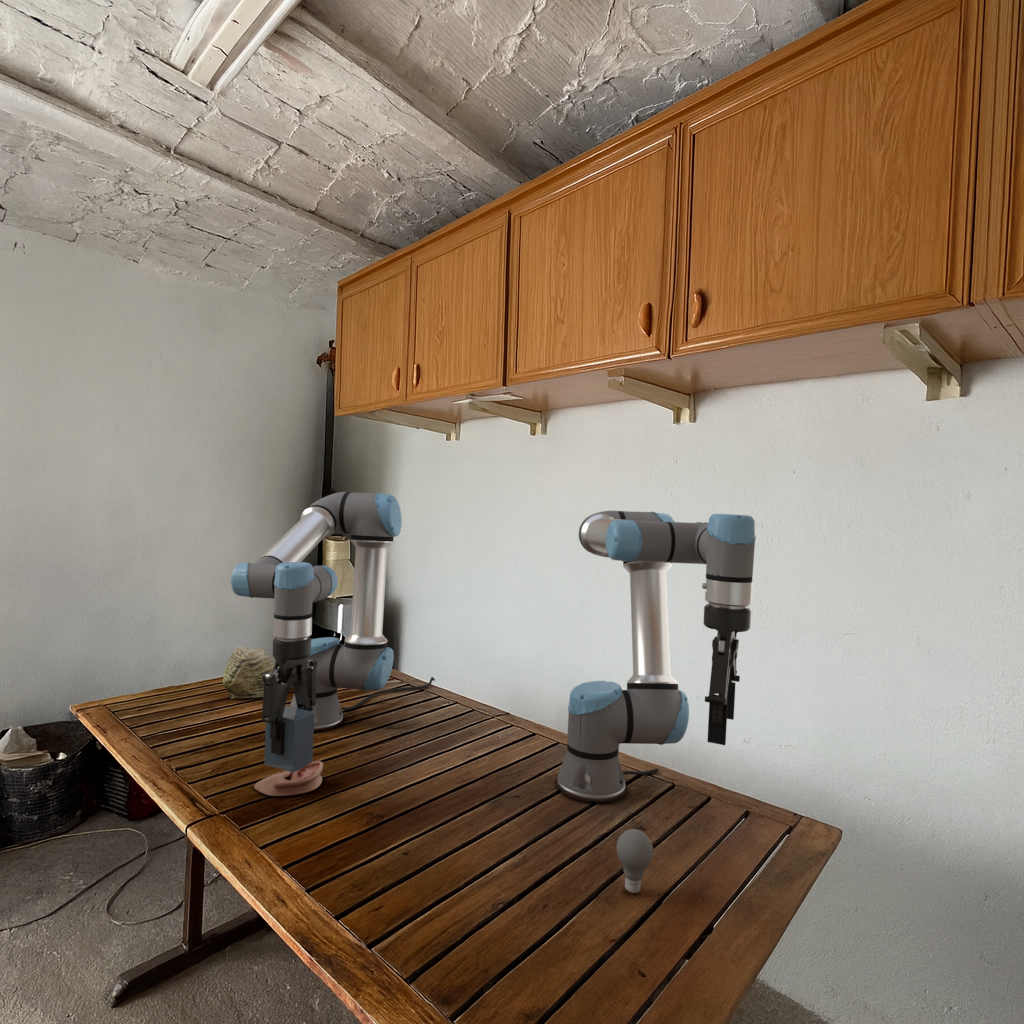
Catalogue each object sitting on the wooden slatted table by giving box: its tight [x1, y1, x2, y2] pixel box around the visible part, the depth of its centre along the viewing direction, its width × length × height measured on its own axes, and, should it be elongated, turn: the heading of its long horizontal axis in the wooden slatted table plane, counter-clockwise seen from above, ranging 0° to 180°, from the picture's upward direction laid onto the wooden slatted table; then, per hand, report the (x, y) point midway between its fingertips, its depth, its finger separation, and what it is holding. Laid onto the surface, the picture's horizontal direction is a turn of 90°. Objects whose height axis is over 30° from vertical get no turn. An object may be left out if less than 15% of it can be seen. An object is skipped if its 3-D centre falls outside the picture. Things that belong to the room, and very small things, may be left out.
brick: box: [264, 705, 315, 773], centre depth 132 cm, size 6×8×11 cm
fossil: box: [222, 646, 286, 699], centre depth 198 cm, size 9×18×15 cm, turn 132°
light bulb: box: [615, 828, 654, 894], centre depth 106 cm, size 6×6×10 cm
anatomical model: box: [253, 760, 324, 797], centre depth 138 cm, size 13×4×12 cm
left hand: (288, 747), depth 132 cm, fingers closed on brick, 6 cm apart
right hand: (721, 729), depth 107 cm, fingers open, 13 cm apart
